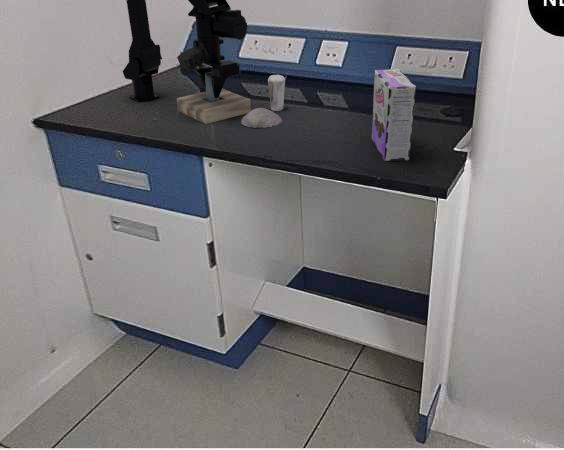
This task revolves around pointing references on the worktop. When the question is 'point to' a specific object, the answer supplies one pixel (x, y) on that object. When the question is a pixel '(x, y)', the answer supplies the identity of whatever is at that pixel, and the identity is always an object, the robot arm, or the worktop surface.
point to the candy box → (392, 114)
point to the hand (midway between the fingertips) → (212, 96)
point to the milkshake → (276, 91)
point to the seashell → (261, 118)
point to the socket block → (213, 106)
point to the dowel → (209, 89)
